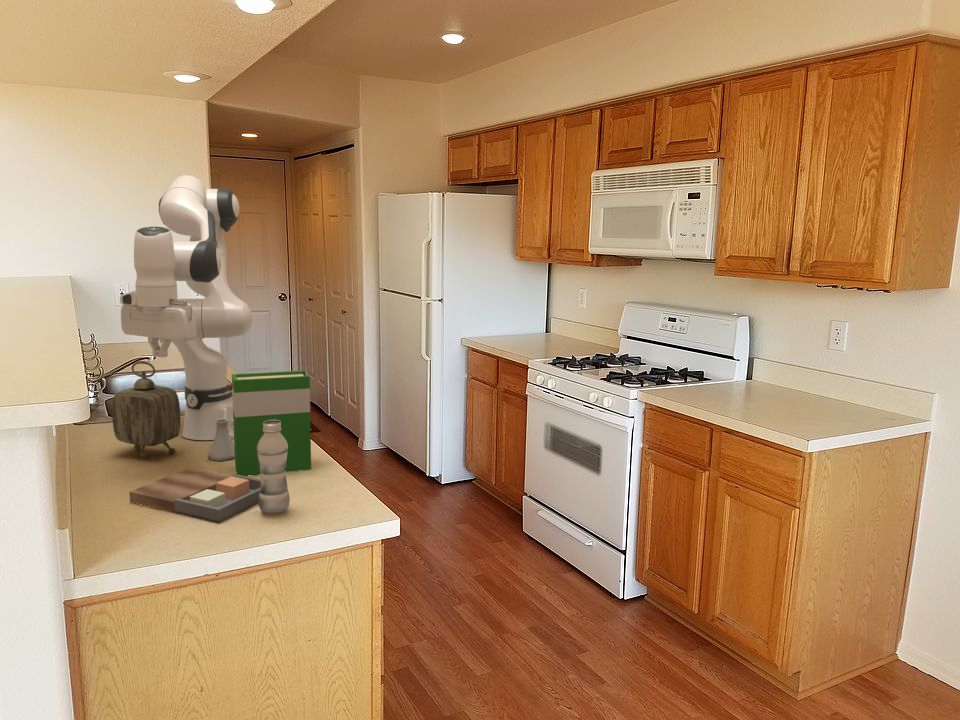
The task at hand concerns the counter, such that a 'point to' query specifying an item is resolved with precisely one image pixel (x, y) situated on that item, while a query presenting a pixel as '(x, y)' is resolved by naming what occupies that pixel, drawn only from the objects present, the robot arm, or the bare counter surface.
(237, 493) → the orange square block
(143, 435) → the tabletop clock
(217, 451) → the flask
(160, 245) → the robot arm
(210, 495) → the cream block
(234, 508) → the tray
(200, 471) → the walnut board
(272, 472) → the plastic bottle
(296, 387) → the hardback book
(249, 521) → the counter surface
